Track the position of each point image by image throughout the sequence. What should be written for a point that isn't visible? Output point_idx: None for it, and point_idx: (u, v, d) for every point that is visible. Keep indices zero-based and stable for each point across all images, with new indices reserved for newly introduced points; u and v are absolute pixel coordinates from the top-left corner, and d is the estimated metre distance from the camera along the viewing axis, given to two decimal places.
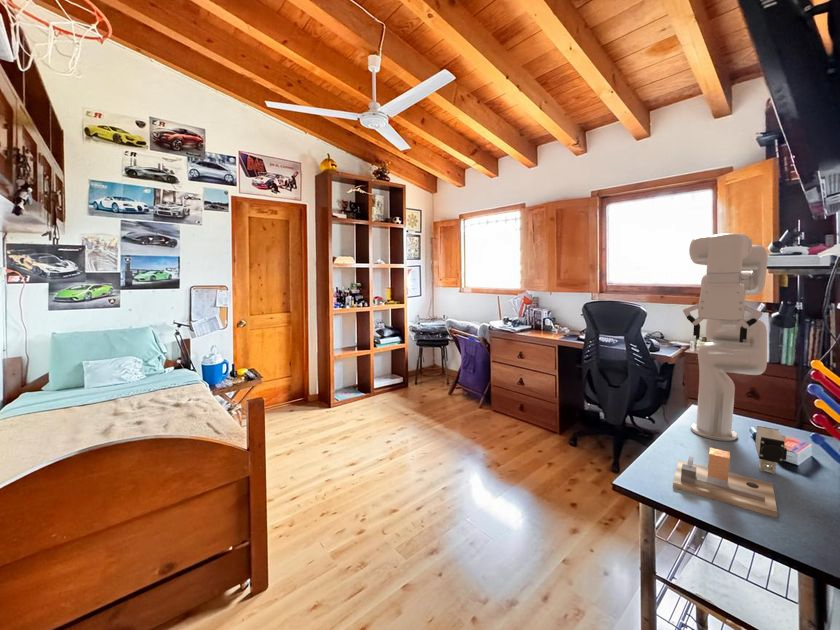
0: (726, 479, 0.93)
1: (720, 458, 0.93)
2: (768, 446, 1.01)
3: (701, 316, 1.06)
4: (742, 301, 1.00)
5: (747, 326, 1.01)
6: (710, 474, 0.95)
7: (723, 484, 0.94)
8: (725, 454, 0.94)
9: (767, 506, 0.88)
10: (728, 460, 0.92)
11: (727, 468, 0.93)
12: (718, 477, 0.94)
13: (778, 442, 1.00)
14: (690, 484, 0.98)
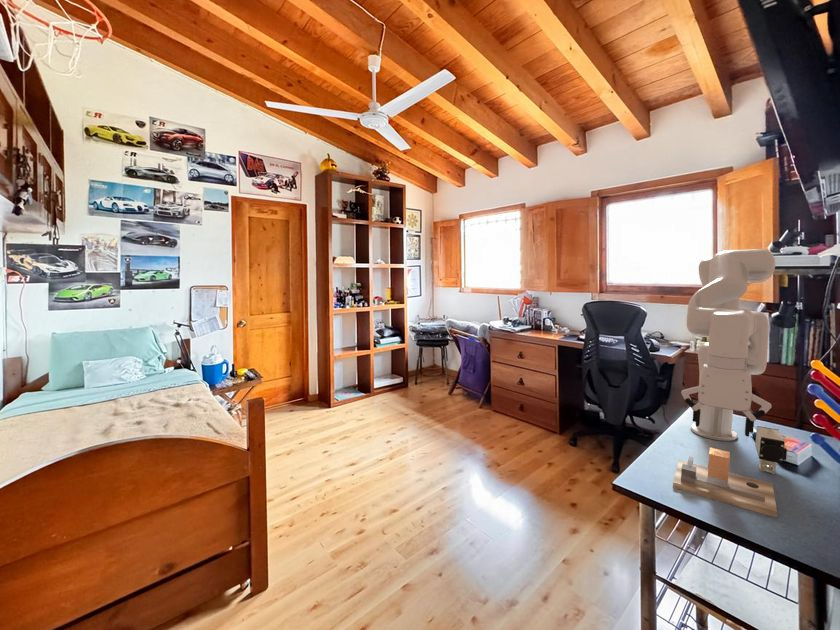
0: (726, 479, 0.93)
1: (720, 458, 0.93)
2: (768, 446, 1.01)
3: (701, 402, 0.94)
4: (748, 390, 0.88)
5: (754, 419, 0.89)
6: (710, 474, 0.95)
7: (723, 484, 0.94)
8: (725, 454, 0.94)
9: (767, 506, 0.88)
10: (728, 460, 0.92)
11: (727, 468, 0.93)
12: (718, 477, 0.94)
13: (778, 442, 1.00)
14: (690, 484, 0.98)
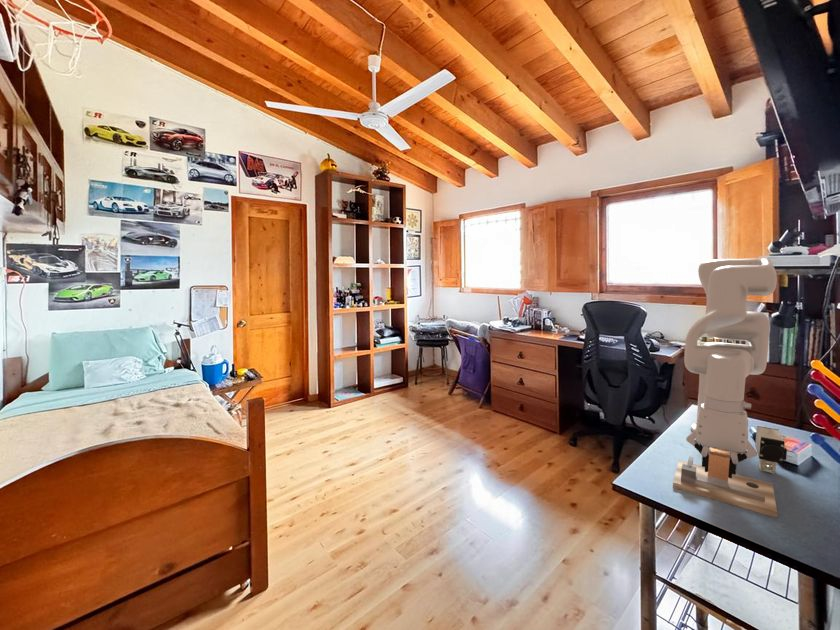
0: (726, 479, 0.93)
1: (720, 458, 0.93)
2: (768, 446, 1.01)
3: (699, 441, 0.96)
4: (745, 433, 0.90)
5: (736, 462, 0.92)
6: (710, 474, 0.95)
7: (723, 484, 0.94)
8: (725, 454, 0.94)
9: (767, 506, 0.88)
10: (728, 460, 0.92)
11: (727, 468, 0.93)
12: (718, 477, 0.94)
13: (778, 442, 1.00)
14: (690, 484, 0.98)
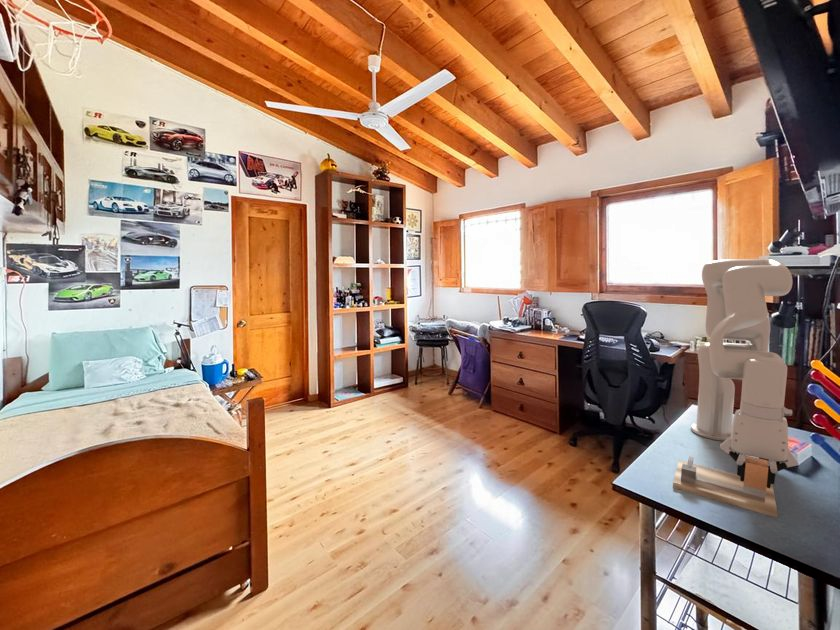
0: (764, 489, 0.89)
1: (758, 466, 0.89)
2: None
3: (734, 449, 0.91)
4: (785, 441, 0.85)
5: (775, 471, 0.87)
6: (747, 483, 0.90)
7: (761, 495, 0.89)
8: (763, 463, 0.90)
9: (767, 506, 0.88)
10: (766, 469, 0.88)
11: (765, 477, 0.88)
12: (755, 487, 0.90)
13: None
14: (690, 484, 0.98)
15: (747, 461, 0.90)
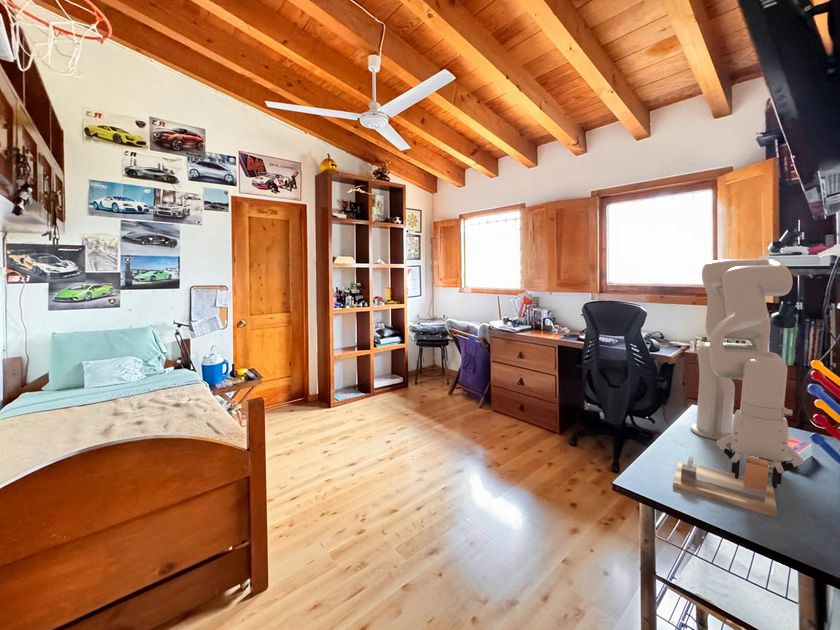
0: (764, 489, 0.89)
1: (758, 466, 0.89)
2: None
3: (735, 449, 0.91)
4: (785, 441, 0.85)
5: (782, 471, 0.87)
6: (747, 483, 0.90)
7: (761, 495, 0.89)
8: (763, 463, 0.90)
9: (767, 506, 0.88)
10: (767, 469, 0.88)
11: (765, 477, 0.88)
12: (755, 487, 0.90)
13: None
14: (690, 484, 0.98)
15: (747, 461, 0.90)
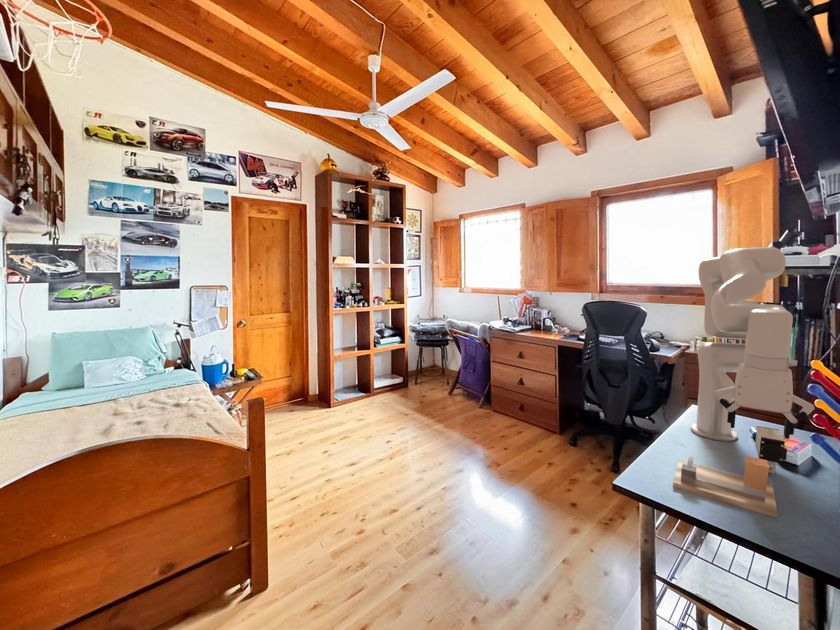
0: (764, 489, 0.89)
1: (758, 466, 0.89)
2: (768, 446, 1.01)
3: (738, 403, 0.90)
4: (790, 392, 0.84)
5: (795, 421, 0.85)
6: (747, 483, 0.90)
7: (761, 495, 0.89)
8: (763, 463, 0.90)
9: (767, 506, 0.88)
10: (767, 469, 0.88)
11: (765, 477, 0.88)
12: (755, 487, 0.90)
13: (778, 442, 1.00)
14: (690, 484, 0.98)
15: (747, 461, 0.90)
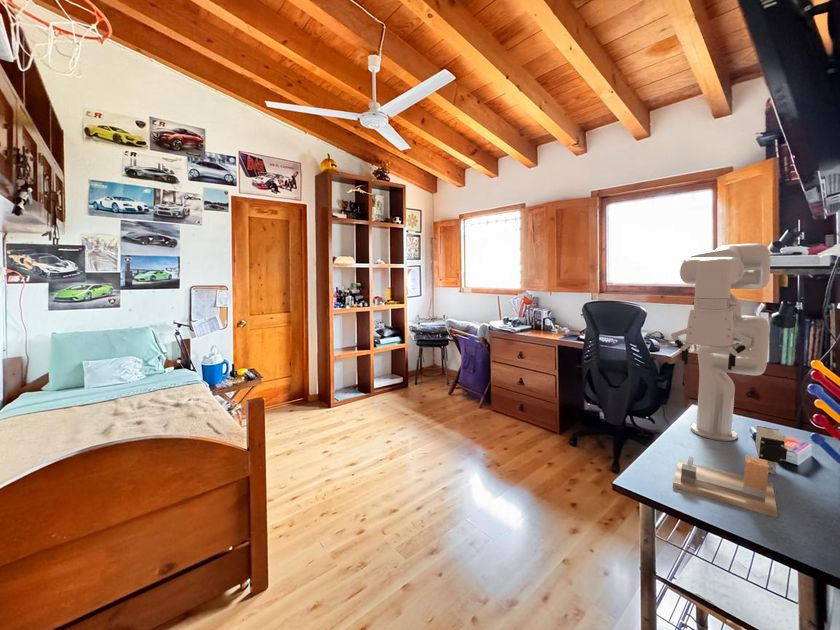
0: (764, 489, 0.89)
1: (758, 466, 0.89)
2: (768, 446, 1.01)
3: (689, 341, 1.04)
4: (730, 328, 0.98)
5: (736, 353, 0.98)
6: (747, 483, 0.90)
7: (761, 495, 0.89)
8: (763, 463, 0.90)
9: (767, 506, 0.88)
10: (767, 469, 0.88)
11: (765, 477, 0.88)
12: (755, 487, 0.90)
13: (778, 442, 1.00)
14: (690, 484, 0.98)
15: (747, 461, 0.90)
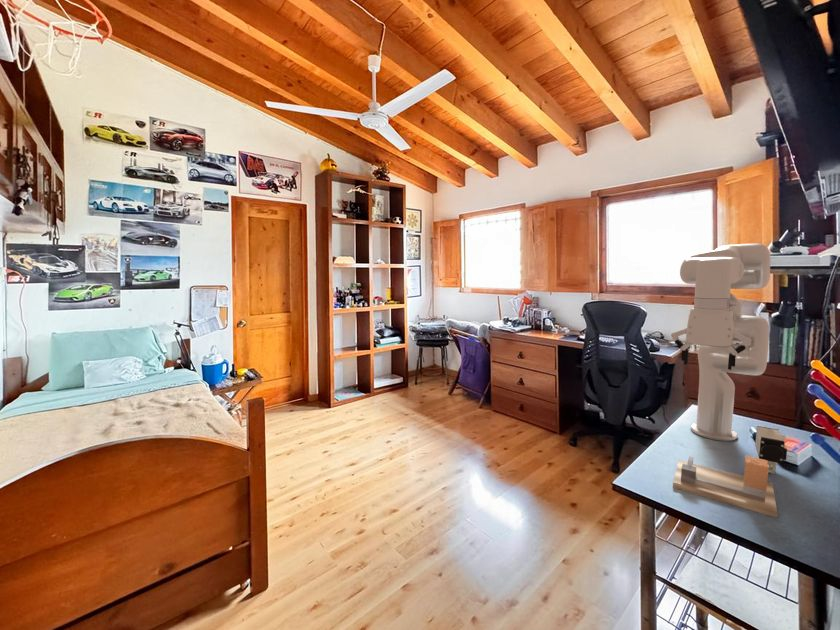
0: (764, 489, 0.89)
1: (758, 466, 0.89)
2: (768, 446, 1.01)
3: (689, 341, 1.04)
4: (730, 328, 0.98)
5: (736, 353, 0.98)
6: (747, 483, 0.90)
7: (761, 495, 0.89)
8: (763, 463, 0.90)
9: (767, 506, 0.88)
10: (767, 469, 0.88)
11: (765, 477, 0.88)
12: (755, 487, 0.90)
13: (778, 442, 1.00)
14: (690, 484, 0.98)
15: (747, 461, 0.90)
